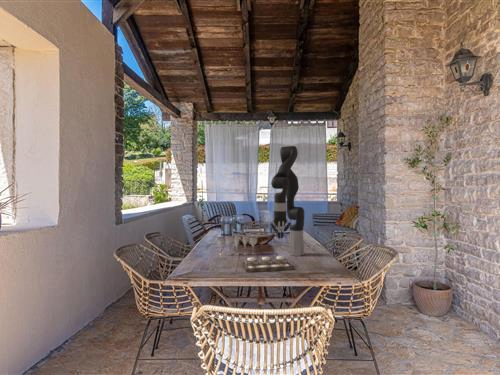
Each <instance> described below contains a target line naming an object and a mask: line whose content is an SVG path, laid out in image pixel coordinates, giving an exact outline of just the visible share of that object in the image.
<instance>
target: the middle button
mask: <svg viewBox="0 0 500 375" xmlns="http://www.w3.org/2000/svg"><path fill="white" fill-rule="evenodd" d="M261 259H262V261H270V259H271V257H270V256H262V257H261Z"/></svg>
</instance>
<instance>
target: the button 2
mask: <svg viewBox="0 0 500 375" xmlns="http://www.w3.org/2000/svg"><path fill="white" fill-rule="evenodd" d="M275 258H276V260H277V261H281V260H285V259H286V257H285V256H284V255H277V256H276V257H275Z"/></svg>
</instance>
